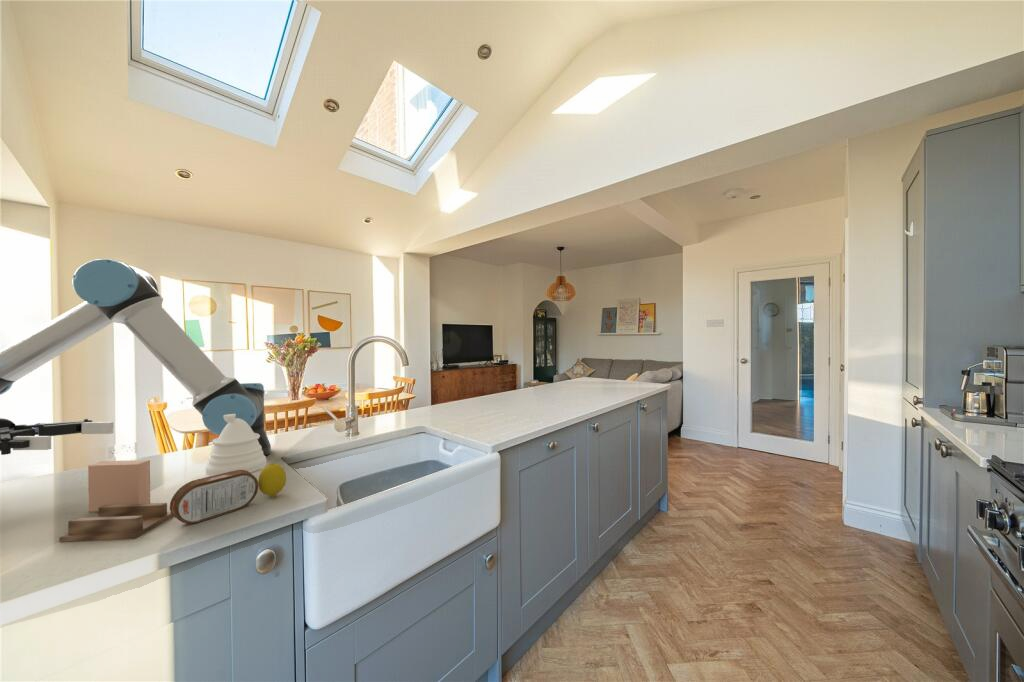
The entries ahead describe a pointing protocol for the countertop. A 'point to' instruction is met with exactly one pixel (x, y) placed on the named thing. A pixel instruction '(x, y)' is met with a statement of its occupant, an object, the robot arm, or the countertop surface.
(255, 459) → the honey pot
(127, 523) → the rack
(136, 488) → the tan square block
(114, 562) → the countertop surface
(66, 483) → the countertop surface
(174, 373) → the robot arm
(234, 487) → the tin
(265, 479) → the lemon
